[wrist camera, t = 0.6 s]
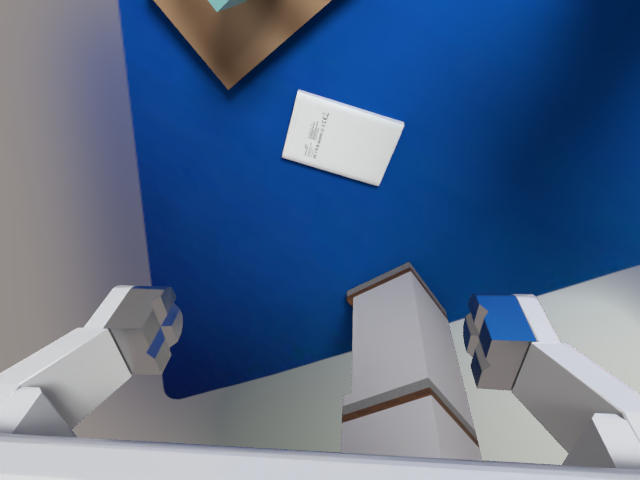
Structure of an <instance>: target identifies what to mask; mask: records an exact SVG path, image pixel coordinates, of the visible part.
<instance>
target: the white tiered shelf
mask: <svg viewBox="0 0 640 480" xmlns="http://www.w3.org/2000/svg"><path fill="white" fill-rule="evenodd" d="M347 301H348V303H349V304H350V305H351V306H352V307H353V337H352V392H351V393H349V394H346V395H343V412H342V438H341V453H357V454H375V455H393V456H410V457H428V458H446V459H463V460H481V461H482V457H481V453H480V449H479V445H478V441H477V437H476V433H475V428H474V425H473V420H472V416H471V412H470V408H469V404H468V400H467V396H466V392H465V388H464V384H463V380H462V376H461V372H460V367H459V363H458V359H457V355H456V351H455V347H454V343H453V339H452V335H451V331H450V327H449V323H448V319H447V315H446V311H445V309H444V308H443V307H442V305H441V304H440V303H439V301H438V300H437V299H436V297H435V296H434V295H433V293H432V292H431V290H430V289H429V288H428V286H427V285H426V284H425V282H424V281H423V280H422V278H421V277H420V276H419V274H418V273H417V272H416V270H415V269H414V268H413V266H412V265H411V264H410V262H408V263H406V264H404V265H401V266H399V267H397V268H395V269H393V270H391V271H389V272H387V273H384V274H382V275H380V276H378V277H376V278H374V279H372V280H370V281H368V282H365V283H363V284H361V285H359V286H357V287H355V288H353V289H351V290H348V291H347Z"/></svg>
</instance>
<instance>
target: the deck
mask: <svg viewBox="0 0 640 480" xmlns="http://www.w3.org/2000/svg"><path fill="white" fill-rule="evenodd" d="M154 1H155V3H156V4H157V5H158V6H159V7H160V9H161V10H162V11H163V12H164V13H165V15H166V16H167V17H168V18H169V19H170V21H171V22H172V23H173V24H174V25H175V27H176V28H177V29H178V30H179V31H180V33H181V34H182V35H183V36H184V37H185V39H186V40H187V41H188V42H189V43H190V45H191V46H192V47H193V48H194V49H195V51H196V52H197V53H198V54H199V55H200V57H201V58H202V59H203V60H204V61H205V63H206V64H207V65H208V66H209V67H210V69H211V70H212V71H213V72H214V73H215V75H216V76H217V77H218V78H219V79H220V81H221V82H222V83H223V84H224V85H225V87H226V88H227V89H228V90H229V89H230V88H231V87H232V86H233V85H235V84H236V83H237V82H238V81H239V80H240V79H242V78H243V77H244V76H245V75H246V74H247V73H248V72H250V71H251V70H252V69H253V68H254V67H255V66H257V65H258V64H259V63H260V62H261V61H262V60H263V59H265V58H266V57H267V56H268V55H269V54H270V53H271V52H273V51H274V50H275V49H276V48H277V47H278V46H280V45H281V44H282V43H283V42H284V41H285V40H286V39H288V38H289V37H290V36H291V35H292V34H293V33H295V32H296V31H297V30H298V29H299V28H300V27H301V26H303V25H304V24H305V23H306V22H307V21H308V20H310V19H311V18H312V17H313V16H314V15H315V14H316V13H318V12H319V11H320V10H321V9H322V8H323V7H325V6H326V5H327V4H328V3H329V2H330V1H331V0H247V1H246V2H244V3H241V4H238V5H236V6H233V7H230V8H227V9H224V10H222V11H219V12H216V10H215V9H214V8H213V6H212V5H211V4H210V2H209V1H208V0H154Z"/></svg>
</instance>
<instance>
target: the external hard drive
mask: <svg viewBox="0 0 640 480" xmlns="http://www.w3.org/2000/svg"><path fill="white" fill-rule="evenodd" d="M403 128H404V122H402V121H398V120H395V119H392V118H389V117H386V116H382V115H379V114H376V113H373V112H370V111H366V110H363V109H360V108H357V107H354V106H351V105H347V104H344V103H341V102H338V101H335V100H331V99H328V98H325V97H322V96H319V95H316V94H312V93H309V92H306V91H303V90H300V89H299V90H298V92H297V95H296V100H295V104H294V108H293V112H292V117H291V121H290V125H289V129H288V133H287V137H286V141H285V145H284V149H283V153H282V158H285V159H288V160H292V161H295V162H298V163H302V164H305V165H308V166H311V167H315V168H318V169H322V170H325V171H328V172H332V173H335V174H338V175H342V176H345V177H348V178H351V179H355V180H358V181H362V182H365V183H369V184H372V185H375V186H379V185H380V182H381V180H382V178H383V175H384V173H385V171H386V168H387V166H388V164H389V161H390V159H391V156H392V154H393V152H394V149H395V147H396V145H397V142H398V140H399V138H400V135H401V133H402V130H403Z"/></svg>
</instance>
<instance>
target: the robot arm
mask: <svg viewBox="0 0 640 480" xmlns="http://www.w3.org/2000/svg"><path fill="white" fill-rule="evenodd" d="M175 299H176V296H175V293H174V291H173V289H172V288H170V287H155V286H125V285H118V286H116V287H114V288H113V289H112V290H111V292H110V293H109V295H108V296H107V297H106V298H105V300H104V301H103V302H102V304H101V305H100V306H99V308H98V309H97V310H96V312H95V313H94V314H93V316H92V317H91V318H90V320H89V321H88V322H87V324H86V325H85V326H84V328H77V329H75V330H73V331H72V332H70V333H68V334H66V335H65V336H63V337H61V338H60V339H58V340H56V341H54V342H53V343H51V344H49V345H48V346H46V347H44V348H43V349H41V350H39V351H38V352H36V353H34V354H32V355H31V356H29V357H27V358H25V359H24V360H22V361H20V362H19V363H17V364H16V365H14V366H12V367H10V368H9V369H7V370H5V371H3V372H2V373H0V480H640V394H639V393H638V392H636V391H635V390H633V389H632V388H631V387H629V386H628V385H626V384H625V383H623V382H622V381H621V380H619V379H618V378H616V377H615V376H614V375H612V374H611V373H609V372H608V371H607V370H605V369H604V368H602V367H601V366H599V365H598V364H596V363H595V362H594V361H592V360H591V359H589V358H588V357H587V356H585V355H584V354H582V353H581V352H579V351H578V350H577V349H575V348H574V347H572V346H571V345H569V344H568V343H561V341H560V339H559V337H558V336H557V334H556V332H555V330H554V328H553V327H552V325H551V323H550V321H549V319H548V317H547V315H546V314H545V312H544V310H543V308H542V306H541V304H540V303H539V301H538V299H537V297H536V296H534V295H533V294H512V295H511V294H472V295H471V297H470V300H469V304H468V305H469V309H470V312H471V313H469V314H468V315H467V316H466V317H465V321H464V326H463V328H464V329H463V330H464V331H463V336H464V343H465V347H466V351H467V353H469V354H470V355H471V356H472V357H473V359H472V363H471V369H472V372H473V376H474V379H475V383H476V386H477V388H483V389H498V390H511V391H512V393H513V394H514V395H515V396H516V397H517V399H519V401H520V402H521V403H522V404H523V405H524V406H525V407H526V408H527V409H528V410H529V411H530V412H531V413H532V415H533V416H534V417H535V418H536V419H537V420H538V421H539V422H540V423H541V424H542V425H543V426H544V428H546V429H547V431H548V432H549V433H550V434H551V435H552V436H553V437H554V438H555V439H556V440H557V442H558V443H559V444H560V445H561V446H562V447H563V448H564V449H565V450H566V451H567V452H568V453H569V454H568V456H567V457H566V459H565V461H564V462H563V464H562V465H551V464H550V465H549V464H533V463H516V462H498V461H497V462H496V461H481V460H463V459H446V458H428V457H410V456H393V455H375V454H357V453H340V452H339V453H338V452H322V451H303V450H287V449H269V448H252V447H234V446H217V445H200V444H183V443H182V444H181V443H165V442H146V441H129V440H112V439H95V438H78V437H76V435H75V434H74V432H73V431H72V429H73V428H74V427H75V426H76V425H77V424H78V423H79V422H81V421H82V420H83V419H84V418H85V417H86V416H87V415H88V414H90V413H91V412H92V411H93V410H94V409H95V408H96V407H97V406H99V405H100V404H101V403H102V402H103V401H104V400H105V399H106V398H108V397H109V396H110V395H111V394H112V393H113V392H114V391H115V390H117V389H118V388H119V387H120V386H121V385H122V384H123V383H124V382H126V381H127V380H128V379H129V378H130V377H131V374H134V375H135V374H136V375H162V373H163V371H164V369H165V367H166V365H167V363H168V361H169V359H170V356H171V353H170V350H169V348H170V347H171V346H172V345H174V344H175V343H176V342H178V339H179V337H180V335H181V331H182V326H183V319H182V313H181V310H180V309H179V308H178V307H177V306H176V305H175V304H173V303H174V301H175Z"/></svg>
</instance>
